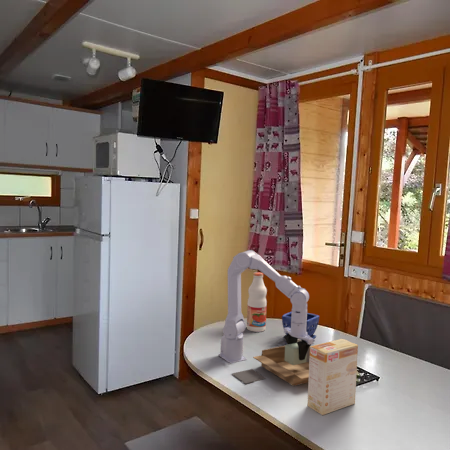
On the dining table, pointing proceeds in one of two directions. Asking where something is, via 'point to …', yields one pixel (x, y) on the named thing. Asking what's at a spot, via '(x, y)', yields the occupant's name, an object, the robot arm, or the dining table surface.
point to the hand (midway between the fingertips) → (297, 356)
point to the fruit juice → (257, 304)
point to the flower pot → (310, 329)
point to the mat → (248, 376)
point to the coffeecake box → (332, 376)
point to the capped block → (294, 354)
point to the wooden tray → (283, 366)
